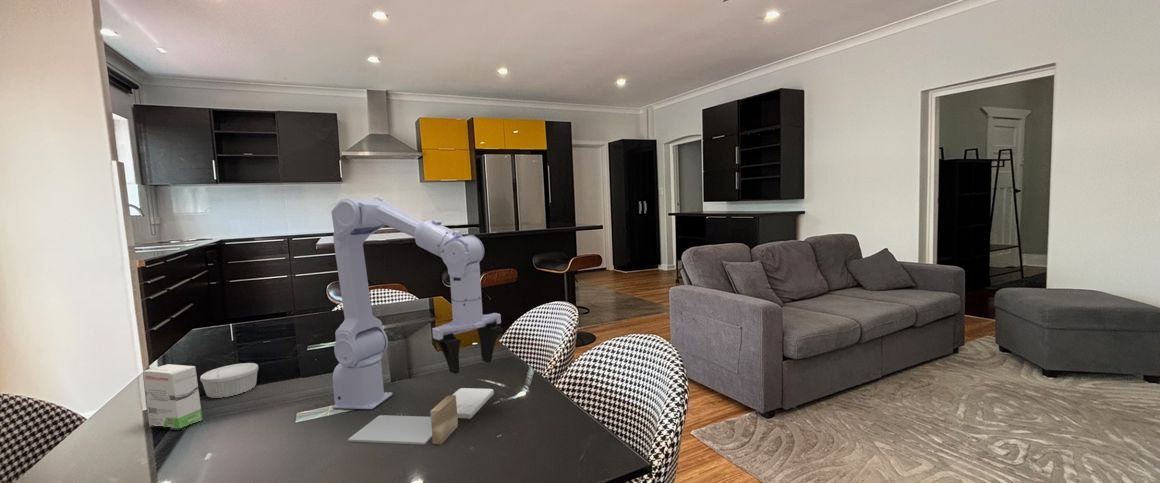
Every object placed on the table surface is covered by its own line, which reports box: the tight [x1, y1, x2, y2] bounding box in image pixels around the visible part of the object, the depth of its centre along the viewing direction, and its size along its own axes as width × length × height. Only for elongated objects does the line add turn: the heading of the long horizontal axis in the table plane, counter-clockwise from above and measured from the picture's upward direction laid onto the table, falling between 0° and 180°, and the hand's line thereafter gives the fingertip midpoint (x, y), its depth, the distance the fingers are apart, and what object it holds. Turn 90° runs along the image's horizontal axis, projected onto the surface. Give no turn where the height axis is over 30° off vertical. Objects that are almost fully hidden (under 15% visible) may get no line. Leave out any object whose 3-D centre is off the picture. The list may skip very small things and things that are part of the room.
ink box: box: [142, 363, 203, 429], centre depth 99 cm, size 9×5×12 cm, turn 73°
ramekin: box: [199, 362, 259, 399], centre depth 116 cm, size 11×11×5 cm
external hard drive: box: [452, 387, 495, 419], centre depth 102 cm, size 2×8×12 cm
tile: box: [430, 394, 459, 445], centre depth 89 cm, size 2×7×6 cm, turn 170°
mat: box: [347, 414, 432, 446], centre depth 91 cm, size 15×10×1 cm, turn 80°
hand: (471, 366), depth 96 cm, fingers open, 7 cm apart
